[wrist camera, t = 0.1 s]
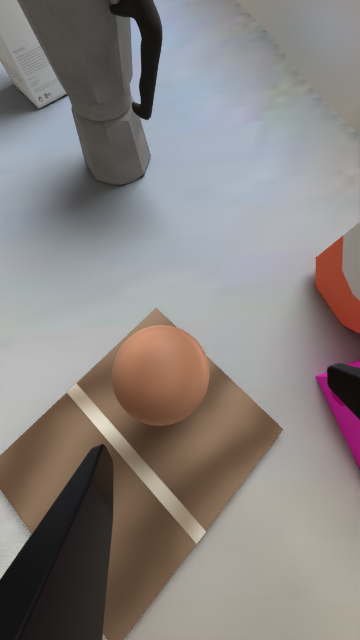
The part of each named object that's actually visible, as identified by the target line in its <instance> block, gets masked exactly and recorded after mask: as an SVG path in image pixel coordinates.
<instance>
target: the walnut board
mask: <svg viewBox="0 0 360 640" xmlns="http://www.w3.org/2000/svg"><path fill="white" fill-rule="evenodd" d="M155 325H168V326H174V327H176V326H175V325H174V324H173V323H172V322H171V321H170V320H169V319H168V318H166V317H165V316H164V315H163V314H162V313H161V312H160V311H159V310H158V309H157V308H156V309H154V310H153V311H152V312H151V313H150V314H149V315H148V316H147V317H146V318H145V319H144V320H143V321H142V322H141V323H140V324H139V325H138V326H137V327H135V328H134V329H133V330H132V331H131V332H130V333H129V334H128V335H127V336H126V337H125V338H124V339H123V340H122V341H121V342H120V343H119V344H118V345H116V346H115V347H114V348H113V349H112V350H111V351H110V352H109V353H108V354H107V355H106V356H105V357H104V358H103V359H102V360H101V361H100V362H99V363H97V364H96V365H95V366H94V367H93V368H92V369H91V370H90V371H89V372H88V373H87V374H86V375H85V376H84V377H83V378H82V379H81V380H80V381H78V382H77V383H76V384H75V385H74V386H73V387H72V388H71V389H70V390H69V391H67V393H66V394H65V395H64V396H63V397H62V398H61V399H59V400H58V401H57V402H56V403H55V404H54V405H53V406H52V407H51V408H50V409H49V410H48V411H47V412H46V413H45V414H44V415H43V416H42V417H40V418H39V419H38V420H37V421H36V422H35V423H34V424H33V425H32V426H31V427H30V428H29V429H28V430H27V431H26V432H25V433H24V434H23V435H21V436H20V437H19V438H18V439H17V440H16V441H15V442H14V443H13V444H12V445H11V446H10V447H9V448H8V449H7V450H6V451H5V452H4V453H2V454H1V455H0V489H1V491H2V492H3V493H4V495H5V496H6V498H7V499H8V500H9V502H10V503H11V505H12V506H13V507H14V509H15V510H16V512H17V513H18V514H19V516H20V517H21V519H22V520H23V521H24V523H25V524H26V526H27V527H28V528H29V530H30V531H31V533H33V532H34V530H35V529H36V527H37V526H38V524H39V523H40V521H41V520H42V519H43V517H44V516H45V514H46V513H47V511H48V510H49V508H50V507H51V506H52V504H53V503H54V501H55V500H56V498H57V497H58V495H59V494H60V493H61V491H62V490H63V488H64V487H65V485H66V484H67V483H68V481H69V480H70V478H71V477H72V475H73V474H74V472H75V471H76V470H77V468H78V467H79V465H80V464H81V462H82V461H83V459H84V458H85V457H86V455H87V454H88V452H89V451H90V449H91V448H92V447H94V446H97V445H100V444H104V445H105V446H106V448H107V449H108V451H109V453H110V455H111V457H112V460H113V466H114V487H113V528H112V538H111V549H110V560H109V571H108V582H107V593H106V604H105V614H104V625H103V633H104V635H105V636H106V638H107V639H108V640H123V639H124V638H125V637H126V635H127V634H128V633H129V631H130V630H131V629H132V627H133V626H134V625H135V624H136V622H137V621H138V620H139V618H140V617H141V616H142V614H143V613H144V612H145V610H146V609H147V608H148V606H149V605H150V604H151V602H152V601H153V600H154V599H155V597H156V596H157V595H158V593H159V592H160V591H161V589H162V588H163V587H164V585H165V584H166V583H167V581H168V580H169V579H170V577H171V576H172V575H173V574H174V572H175V571H176V570H177V568H178V567H179V566H180V564H181V563H182V562H183V560H184V559H185V558H186V556H187V555H188V554H189V552H190V551H191V550H192V548H193V547H194V546H195V545H196V544H197V543H198V542H199V540H200V539H201V538H202V536H203V535H204V534H205V532H206V530H207V529H208V527H209V526H210V525H211V523H212V522H213V521H214V520H215V518H216V517H217V516H218V514H219V513H220V512H221V510H222V509H223V508H224V506H225V505H226V504H227V502H228V501H229V500H230V498H231V497H232V496H233V495H234V493H235V492H236V491H237V489H238V488H239V487H240V485H241V484H242V483H243V481H244V480H245V479H246V477H247V476H248V475H249V473H250V472H251V471H252V470H253V468H254V467H255V466H256V464H257V463H258V462H259V460H260V459H261V458H262V456H263V455H264V454H265V452H266V451H267V450H268V448H269V447H270V446H271V444H272V443H273V442H274V441H275V439H276V438H277V437H278V435H279V434H280V433H281V431H282V430H283V429H282V428H281V427H280V426H279V425H278V424H277V423H276V422H275V421H274V420H273V419H272V418H271V417H270V416H269V415H268V414H267V413H266V412H265V411H264V410H263V409H261V408H260V407H259V406H258V405H257V404H256V403H255V402H254V401H253V400H252V399H251V398H250V397H249V396H248V395H247V394H246V393H245V392H244V391H243V390H242V389H241V388H240V387H239V386H237V385H236V384H235V383H234V382H233V381H232V380H231V379H230V378H229V377H228V376H227V375H226V374H225V373H224V372H223V371H222V370H221V369H220V368H219V367H218V366H217V365H216V364H214V363H213V362H212V361H211V360H210V359H209V358H208V357H207V356H206V357H207V360H208V364H209V371H210V377H209V385H208V389H207V392H206V394H205V397H204V399H203V400H202V402H201V404H200V405H199V406H198V408H197V409H196V410H195V411H194V412H193V413H192V414H190V415H189V416H188V417H186V418H185V419H183V420H181V421H179V422H177V423H174V424H170V425H164V426H154V425H149V424H145V423H142V422H140V421H138V420H136V419H134V418H133V417H132V416H130V415H129V414H128V413H127V412H126V411H125V410H124V409H123V408H122V406H121V405H120V404H119V402H118V400H117V398H116V396H115V393H114V390H113V385H112V368H113V363H114V360H115V357H116V355H117V353H118V351H119V349H120V348H121V346H122V345H123V343H124V342H125V341H126V340H127V339H128V338H129V337H130V336H132V335H133V334H134V333H136V332H138V331H139V330H142V329H144V328H147V327H150V326H155Z"/></svg>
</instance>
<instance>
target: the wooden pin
mask: <svg viewBox="0 0 360 640" xmlns="http://www.w3.org/2000/svg"><path fill="white" fill-rule="evenodd" d="M209 377H210V371H209V364H208V360H207V357H206V354H205V352H204V350H203V348H202V347H201V345H200V344H199V342H198V341H197V340H196V339H195V338H194V337H193V336H191V335H190V334H189V333H187V332H186V331H184V330H182V329H179V328H177V327H174V326H168V325H155V326H150V327H147V328H144V329H142V330H139V331H138V332H136V333H134V334H133V335H132V336H130V337H129V338H128V339H127V340H126V341H125V342H124V343H123V345H122V346H121V348H120V349H119V351H118V353H117V355H116V357H115V360H114V363H113V368H112V385H113V390H114V393H115V396H116V398H117V400H118V402H119V404H120V405H121V406H122V408H123V409H124V410H125V411H126V412H127V413H128V414H129V415H130V416H132V417H133V418H134V419H136V420H138V421H140V422H142V423H145V424H149V425H154V426H164V425H170V424H174V423H177V422H179V421H181V420H183V419H185V418H186V417H188V416H189V415H190V414H192V413H193V412H194V411H195V410H196V409H197V408H198V406H199V405H200V404H201V402H202V400H203V399H204V397H205V394H206V392H207V389H208V385H209Z"/></svg>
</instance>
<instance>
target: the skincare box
mask: <svg viewBox="0 0 360 640" xmlns="http://www.w3.org/2000/svg"><path fill="white" fill-rule="evenodd" d="M0 61H1V63H2V64H3V66H4V68H5V70H6V71H7V73H8V75H9V77H10V78H11V80H12V82H13V83H14V84H15V85H16V86H17V87H18V88H19V89H20V90H21V91H22V92H23V93H24V94H25V95H26V96H27V97H28V98H29V99H30V100H31V101H32V102H33V103H34V104H35V105H36V106H37V107H38V108H41V107H43V106H46V105H47V104H49V103H51V102H53V101H55V100H57V99H59V98H61V97H62V96H64V95H66V94H67V93H66V92H65V90H64V89H63V87H62V86H61V84H60V82H59V80H58V79H57V77H56V75H55V73H54V71H53V69H52V67H51V65H50V63H49V61H48V59H47V57H46V55H45V53H44V51H43V49H42V48H41V46H40V44H39V42H38V40H37V38H36V36H35V34H34V32H33V30H32V28H31V26H30V24H29V22H28V20H27V18H26V17H25V15H24V13H23V11H22V9H21V7H20V5H19V3H18V1H17V0H0Z"/></svg>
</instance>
